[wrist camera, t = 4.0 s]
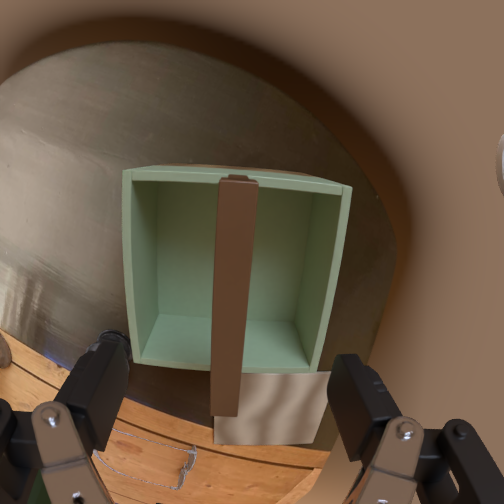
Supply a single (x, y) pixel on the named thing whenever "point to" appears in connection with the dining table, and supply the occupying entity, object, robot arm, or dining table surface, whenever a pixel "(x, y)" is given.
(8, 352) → the candle holder
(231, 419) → the placemat
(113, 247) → the dining table surface
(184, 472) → the eyeglasses
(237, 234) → the top basket
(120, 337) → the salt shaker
